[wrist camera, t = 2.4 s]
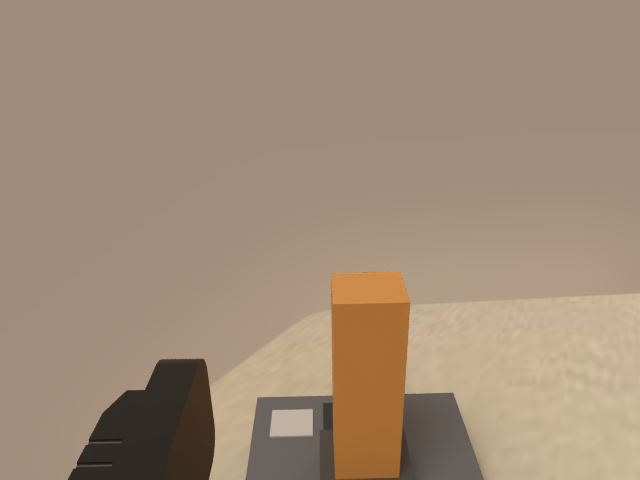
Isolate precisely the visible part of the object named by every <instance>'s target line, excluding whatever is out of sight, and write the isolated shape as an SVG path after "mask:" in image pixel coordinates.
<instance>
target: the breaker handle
mask: <svg viewBox="0 0 640 480" xmlns="http://www.w3.org/2000/svg"><path fill="white" fill-rule="evenodd" d="M331 304H332V305H331V310H332V382H333V430H320V480H415V479H414V474H413V469H412V465H411V460H410V455H409V450H408V445H407V441H406V436H405V431H404V428H402V425H403V409H404V393H405V377H406V361H407V345H408V329H409V313H410V300H409V297H408V294H407V291H406V288H405V285H404V281H403V278H402V275H401V272H363V273H331Z"/></svg>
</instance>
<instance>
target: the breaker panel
mask: <svg viewBox="0 0 640 480" xmlns="http://www.w3.org/2000/svg"><path fill="white" fill-rule="evenodd" d="M402 428H404V431H405V436H406V441H407V445H408V450H409V455H410V460H411V465H412V469H413V474H414V479H415V480H484V479H483V476H482V474H481V471H480V468H479V465H478V462H477V459H476V457H475V454H474V451H473V448H472V445H471V442H470V440H469V437H468V434H467V431H466V428H465V425H464V423H463V420H462V417H461V414H460V411H459V408H458V406H457V403H456V400H455V397H454V394H453V393H432V394H404V409H403V425H402ZM320 430H333V396H303V397H260V398H257V405H256V412H255V419H254V426H253V433H252V440H251V447H250V454H249V461H248V468H247V475H246V480H320Z"/></svg>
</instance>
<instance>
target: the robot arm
mask: <svg viewBox="0 0 640 480" xmlns="http://www.w3.org/2000/svg"><path fill="white" fill-rule="evenodd" d="M214 447H215V426H214V418H213V410H212V403H211V395H210V387H209V380H208V372H207V366H206V363H205V361H204V359H163V360H159V362H158V363H157V365H156V366H155V369H154V371H153V373H152V375H151V378H150V380H149V382H148V385H147V387H146V389H145V390H128V391H126V392H125V393H124V394H122V396H120V397H119V398H118V399H117V400H116V401H115V402H114V403H113V404H112V405H111V406H110V407H109V408H108V409H107V410H105V411H104V412H103V414H102V416H101V417H100V419H99V421H98V423H97V425H96V427H95V429H94V431H93V433H92V434H91V436H90V438H89V444H88V445H86V446H85V448H84V450H83V452H82V454H81V455H80V457H79V459H78V461H77V467H76V469H73V471H72V473H71V475H70V477H69V478H68V480H209V476H210V472H211V467H212V463H213V457H214Z"/></svg>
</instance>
